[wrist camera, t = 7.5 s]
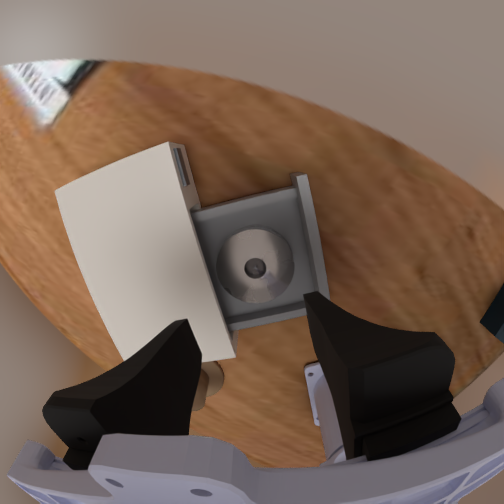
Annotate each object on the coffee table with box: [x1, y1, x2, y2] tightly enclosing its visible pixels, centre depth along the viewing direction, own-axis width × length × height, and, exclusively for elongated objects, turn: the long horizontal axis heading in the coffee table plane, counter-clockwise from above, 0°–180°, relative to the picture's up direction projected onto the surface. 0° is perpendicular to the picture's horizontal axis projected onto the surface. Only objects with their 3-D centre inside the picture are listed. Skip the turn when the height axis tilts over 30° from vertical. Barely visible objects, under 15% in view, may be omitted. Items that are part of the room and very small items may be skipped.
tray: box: [190, 172, 330, 331], centre depth 19 cm, size 9×10×3 cm
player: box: [55, 142, 239, 362], centre depth 19 cm, size 9×15×4 cm, turn 14°
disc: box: [216, 225, 295, 303], centre depth 19 cm, size 5×5×2 cm
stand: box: [192, 361, 224, 411], centre depth 23 cm, size 6×6×4 cm
